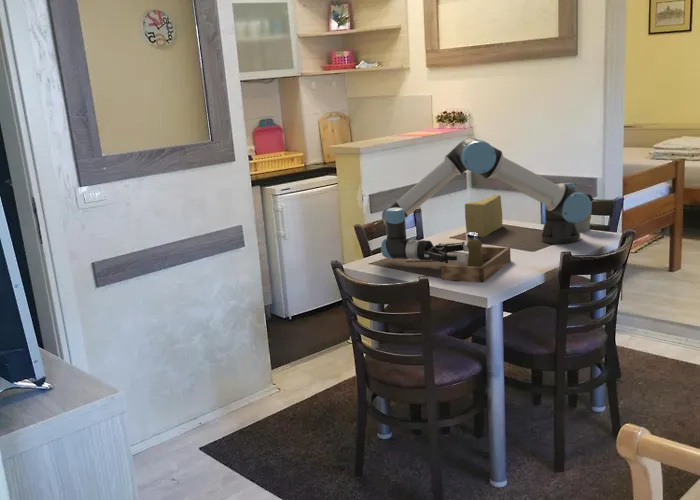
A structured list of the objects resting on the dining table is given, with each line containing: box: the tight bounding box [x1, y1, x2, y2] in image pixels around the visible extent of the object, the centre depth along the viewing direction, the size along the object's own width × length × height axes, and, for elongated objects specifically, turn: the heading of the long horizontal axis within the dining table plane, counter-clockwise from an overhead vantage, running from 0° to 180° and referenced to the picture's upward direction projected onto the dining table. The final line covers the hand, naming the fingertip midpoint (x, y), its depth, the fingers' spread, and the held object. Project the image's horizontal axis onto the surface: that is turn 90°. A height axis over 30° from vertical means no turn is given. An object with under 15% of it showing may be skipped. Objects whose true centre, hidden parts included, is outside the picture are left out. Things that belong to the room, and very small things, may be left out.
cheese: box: [464, 194, 503, 238], centre depth 302 cm, size 22×10×15 cm, turn 138°
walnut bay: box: [440, 245, 511, 283], centre depth 247 cm, size 15×28×5 cm, turn 148°
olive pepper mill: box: [466, 239, 484, 267], centre depth 246 cm, size 6×6×11 cm
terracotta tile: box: [405, 252, 451, 263], centre depth 273 cm, size 16×16×1 cm
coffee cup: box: [576, 193, 594, 233], centre depth 289 cm, size 9×9×15 cm
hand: (473, 253), depth 246 cm, fingers open, 13 cm apart
